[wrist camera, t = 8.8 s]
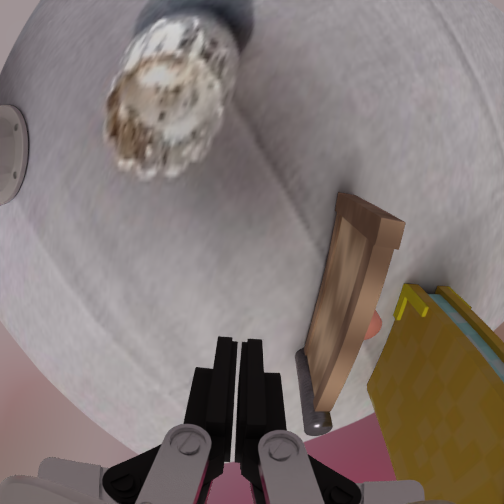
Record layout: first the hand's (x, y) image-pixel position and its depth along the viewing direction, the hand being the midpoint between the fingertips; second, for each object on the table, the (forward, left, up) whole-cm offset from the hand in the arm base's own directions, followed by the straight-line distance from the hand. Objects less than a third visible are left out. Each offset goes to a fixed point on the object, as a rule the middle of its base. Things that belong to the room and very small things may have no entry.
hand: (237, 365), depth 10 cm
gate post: (+12, -7, -15) cm, 21 cm away
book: (+22, 0, -15) cm, 27 cm away
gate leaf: (+8, +1, -15) cm, 17 cm away
